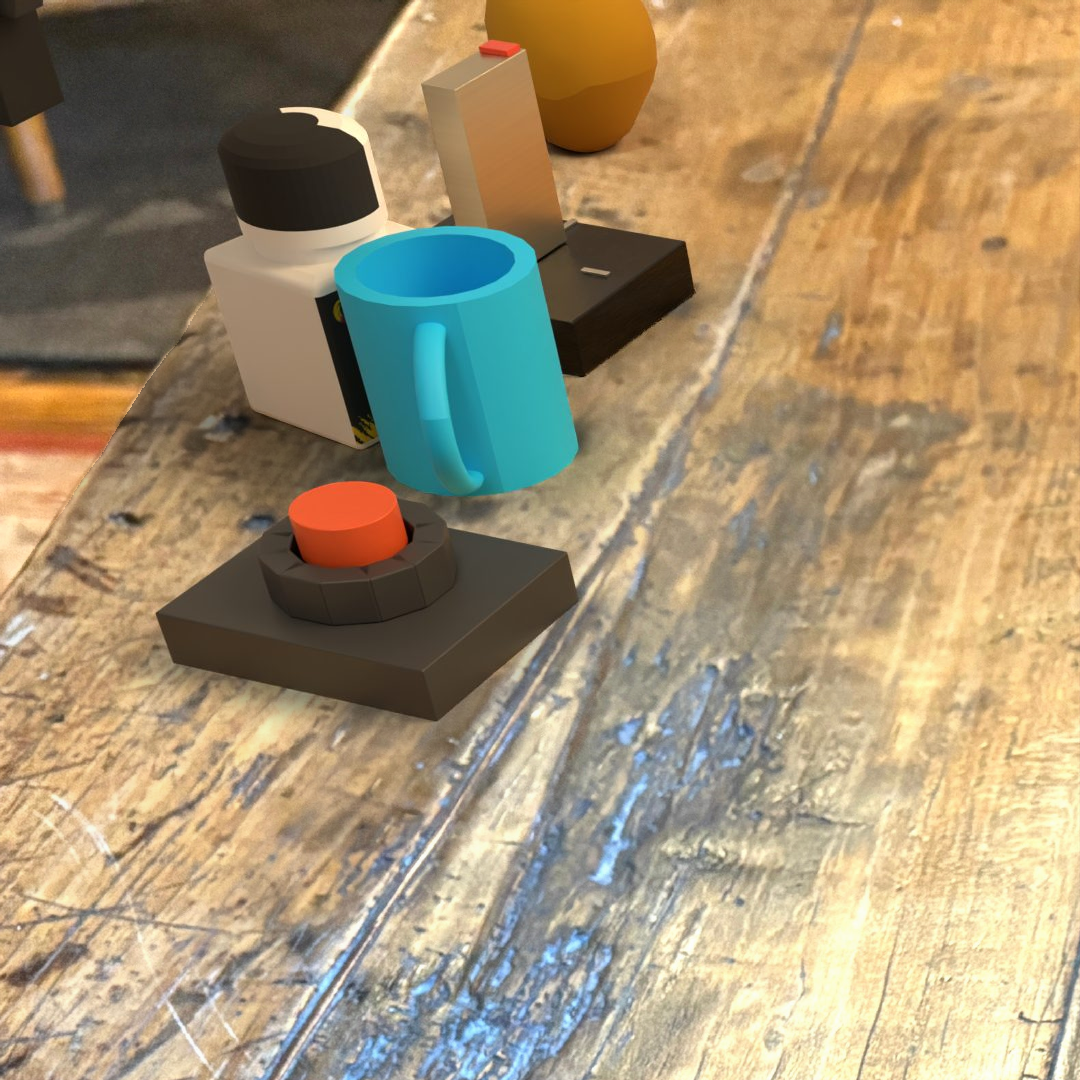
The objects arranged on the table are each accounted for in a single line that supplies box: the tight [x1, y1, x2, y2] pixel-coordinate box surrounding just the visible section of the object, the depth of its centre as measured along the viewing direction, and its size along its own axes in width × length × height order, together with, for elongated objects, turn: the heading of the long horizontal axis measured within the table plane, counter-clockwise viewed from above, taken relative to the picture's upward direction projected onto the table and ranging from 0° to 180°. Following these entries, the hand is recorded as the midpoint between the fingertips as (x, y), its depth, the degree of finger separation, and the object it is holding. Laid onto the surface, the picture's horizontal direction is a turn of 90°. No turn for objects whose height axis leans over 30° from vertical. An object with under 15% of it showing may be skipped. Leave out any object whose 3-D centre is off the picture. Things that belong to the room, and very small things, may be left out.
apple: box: [484, 0, 658, 153], centre depth 138 cm, size 8×8×9 cm
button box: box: [155, 497, 579, 722], centre depth 104 cm, size 12×10×4 cm
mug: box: [334, 226, 580, 498], centre depth 112 cm, size 12×8×8 cm
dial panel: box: [432, 213, 696, 377], centre depth 125 cm, size 12×10×3 cm
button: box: [287, 480, 408, 568], centre depth 102 cm, size 4×4×2 cm
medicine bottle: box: [203, 106, 415, 451], centre depth 115 cm, size 7×7×12 cm
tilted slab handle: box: [420, 40, 567, 260], centre depth 121 cm, size 6×2×9 cm, turn 160°
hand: (20, 109), depth 91 cm, fingers closed
